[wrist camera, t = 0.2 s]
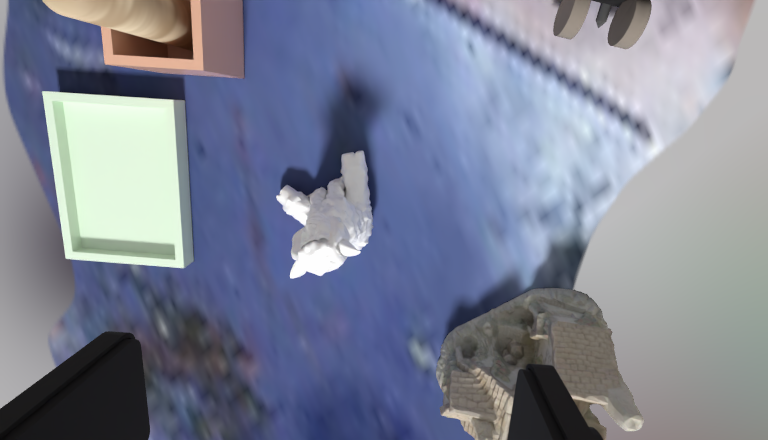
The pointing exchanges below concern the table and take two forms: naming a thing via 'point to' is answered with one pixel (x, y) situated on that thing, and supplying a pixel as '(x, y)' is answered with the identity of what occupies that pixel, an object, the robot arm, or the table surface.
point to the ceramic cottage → (532, 361)
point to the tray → (121, 178)
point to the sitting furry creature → (331, 219)
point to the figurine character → (623, 25)
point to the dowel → (135, 17)
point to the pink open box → (210, 49)
